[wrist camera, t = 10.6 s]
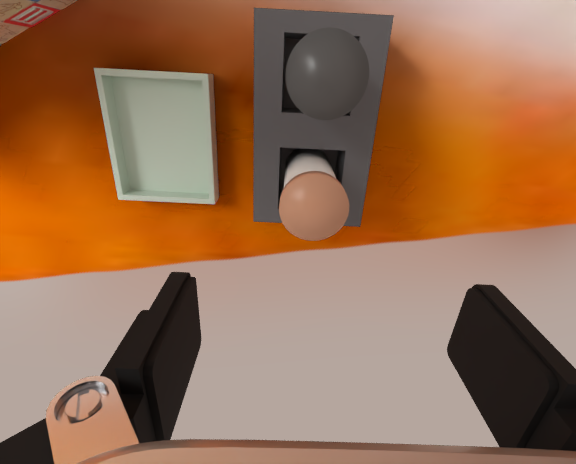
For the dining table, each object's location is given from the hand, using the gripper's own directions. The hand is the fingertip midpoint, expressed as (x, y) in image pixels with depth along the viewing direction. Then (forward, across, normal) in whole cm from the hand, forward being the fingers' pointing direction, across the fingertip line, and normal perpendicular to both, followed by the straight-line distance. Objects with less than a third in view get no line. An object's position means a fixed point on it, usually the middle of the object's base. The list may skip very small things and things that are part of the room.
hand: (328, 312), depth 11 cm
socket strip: (+22, 0, -4) cm, 22 cm away
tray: (+22, +13, -2) cm, 25 cm away
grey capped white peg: (+20, 0, -7) cm, 21 cm away
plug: (+20, 0, 0) cm, 20 cm away
